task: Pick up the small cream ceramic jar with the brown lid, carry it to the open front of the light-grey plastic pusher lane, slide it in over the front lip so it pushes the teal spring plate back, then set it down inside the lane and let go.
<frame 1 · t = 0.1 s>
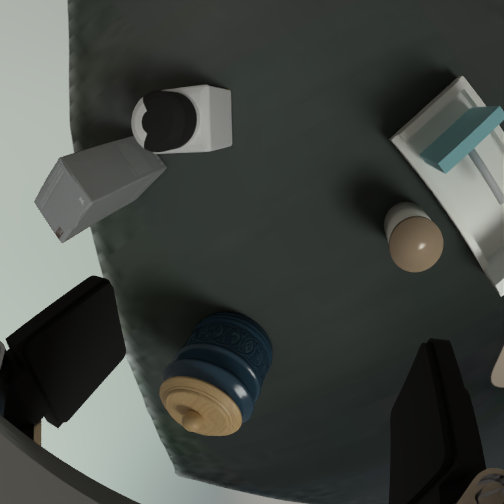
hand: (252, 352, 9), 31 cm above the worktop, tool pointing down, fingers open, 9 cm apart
medicine bottle: (205, 119, 38), on the worktop
pusher: (481, 167, 26), point 5 cm above the worktop, slide at 0.0 cm
skincare box: (139, 170, 43), on the worktop
canister: (234, 343, 50), on the worktop
jar: (405, 224, 36), on the worktop
lane: (479, 181, 31), on the worktop
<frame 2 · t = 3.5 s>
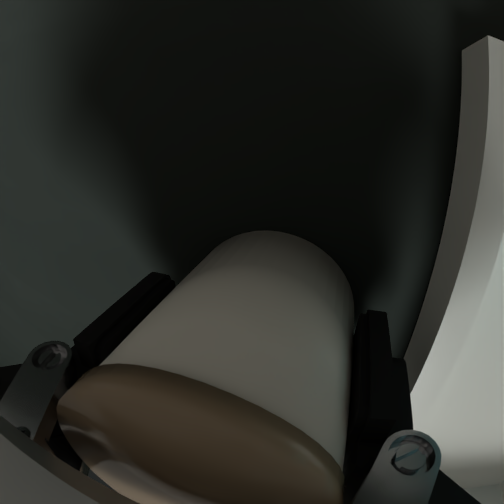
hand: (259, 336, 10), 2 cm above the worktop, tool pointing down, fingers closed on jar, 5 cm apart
jar: (271, 309, 11), on the worktop, touching gripper
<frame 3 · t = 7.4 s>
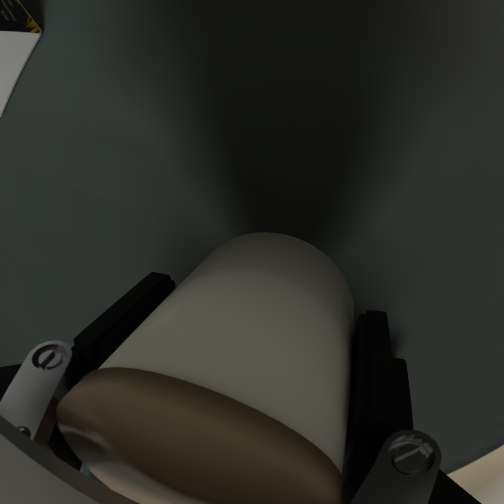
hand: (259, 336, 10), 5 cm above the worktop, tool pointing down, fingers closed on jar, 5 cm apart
medicine bottle: (7, 52, 14), on the worktop
jar: (270, 311, 11), point 4 cm above the worktop, touching gripper
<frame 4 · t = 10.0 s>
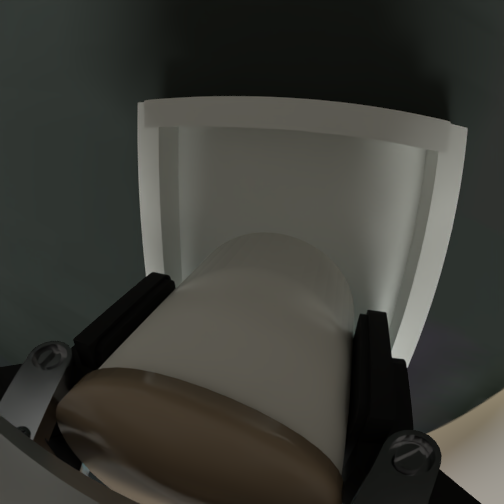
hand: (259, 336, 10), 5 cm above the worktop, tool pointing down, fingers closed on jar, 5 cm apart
jar: (270, 311, 11), point 4 cm above the worktop, touching gripper, pusher
lane: (280, 340, 16), on the worktop
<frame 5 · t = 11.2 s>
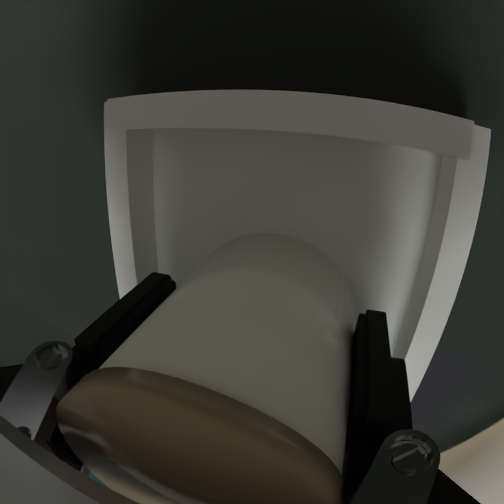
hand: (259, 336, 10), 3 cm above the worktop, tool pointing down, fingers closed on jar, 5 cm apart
pusher: (236, 491, 11), point 5 cm above the worktop, slide at 6.4 cm, touching jar
jar: (270, 311, 11), point 2 cm above the worktop, touching gripper, pusher
lane: (270, 366, 14), on the worktop
when the fingers open (3 cm above the worktop, at t = 11.6 s): jar drops 1 cm, resting on lane, pusher.
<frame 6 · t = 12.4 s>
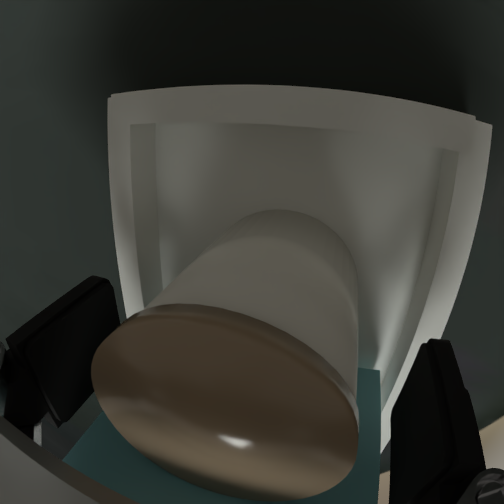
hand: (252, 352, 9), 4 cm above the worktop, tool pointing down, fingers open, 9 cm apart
pusher: (239, 485, 11), point 5 cm above the worktop, slide at 6.2 cm, touching jar
jar: (281, 283, 12), resting on lane, pusher
lane: (273, 362, 14), on the worktop
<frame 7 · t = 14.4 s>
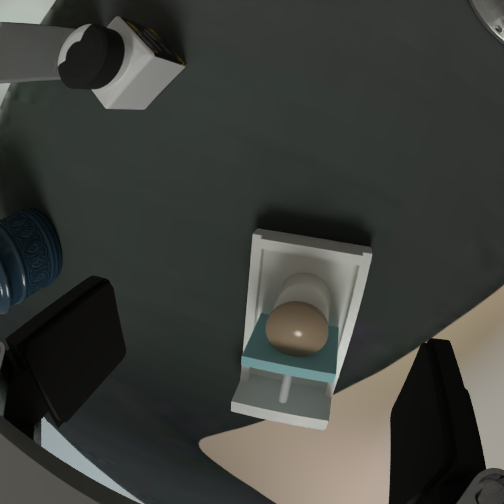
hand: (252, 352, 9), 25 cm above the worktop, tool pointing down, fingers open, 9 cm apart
medicine bottle: (149, 69, 31), on the worktop
pusher: (288, 373, 34), point 5 cm above the worktop, slide at 6.2 cm, touching jar
skincare box: (77, 59, 32), on the worktop
canister: (39, 245, 45), on the worktop
jar: (305, 295, 35), resting on lane, pusher
lane: (299, 325, 37), on the worktop
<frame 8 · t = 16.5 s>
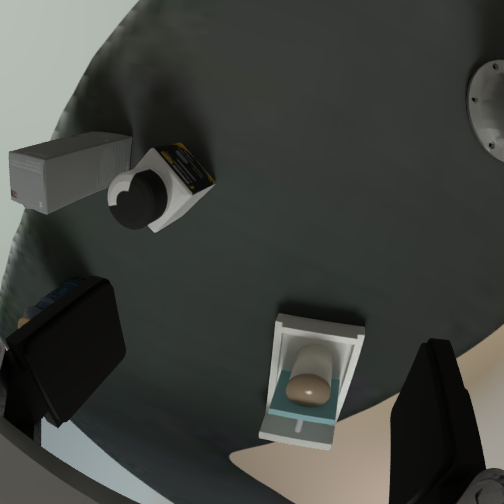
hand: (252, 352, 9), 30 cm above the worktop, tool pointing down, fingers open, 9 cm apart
medicine bottle: (182, 179, 41), on the worktop
pusher: (302, 413, 44), point 5 cm above the worktop, slide at 6.2 cm
skincare box: (110, 156, 43), on the worktop
canister: (88, 306, 56), on the worktop
jar: (314, 358, 45), resting on lane
lane: (310, 377, 47), on the worktop
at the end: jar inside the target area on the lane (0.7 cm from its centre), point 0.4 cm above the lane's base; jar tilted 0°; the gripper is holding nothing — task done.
